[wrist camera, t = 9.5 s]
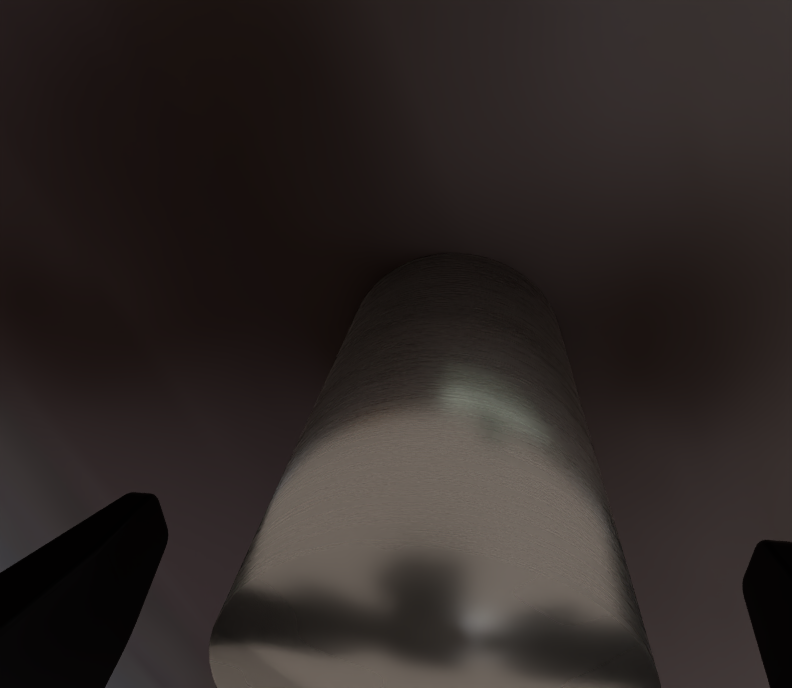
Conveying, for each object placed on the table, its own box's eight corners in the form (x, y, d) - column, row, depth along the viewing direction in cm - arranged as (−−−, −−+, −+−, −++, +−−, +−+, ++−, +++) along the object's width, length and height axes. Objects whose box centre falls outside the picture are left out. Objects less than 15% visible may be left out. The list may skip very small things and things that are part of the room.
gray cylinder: (574, 255, 12) (718, 571, 5) (550, 442, 14) (620, 837, 7) (343, 251, 12) (164, 524, 5) (356, 431, 15) (247, 783, 8)
